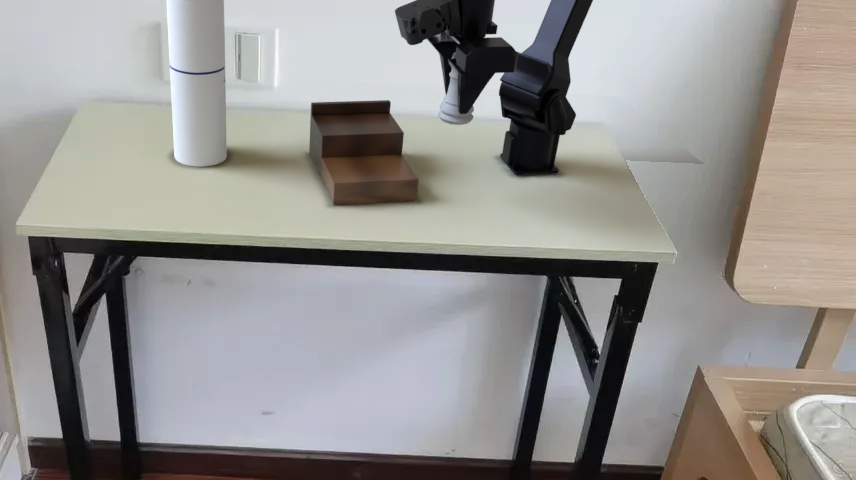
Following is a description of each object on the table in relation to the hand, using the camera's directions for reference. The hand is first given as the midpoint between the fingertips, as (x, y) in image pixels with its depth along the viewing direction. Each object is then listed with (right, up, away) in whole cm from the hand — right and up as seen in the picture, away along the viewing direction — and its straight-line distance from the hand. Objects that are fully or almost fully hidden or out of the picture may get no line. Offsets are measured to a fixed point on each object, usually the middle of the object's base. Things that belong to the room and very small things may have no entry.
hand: (456, 106), depth 119 cm
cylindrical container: (-34, -3, +13) cm, 36 cm away
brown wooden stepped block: (-12, -7, +10) cm, 17 cm away
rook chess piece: (0, -1, +1) cm, 2 cm away
